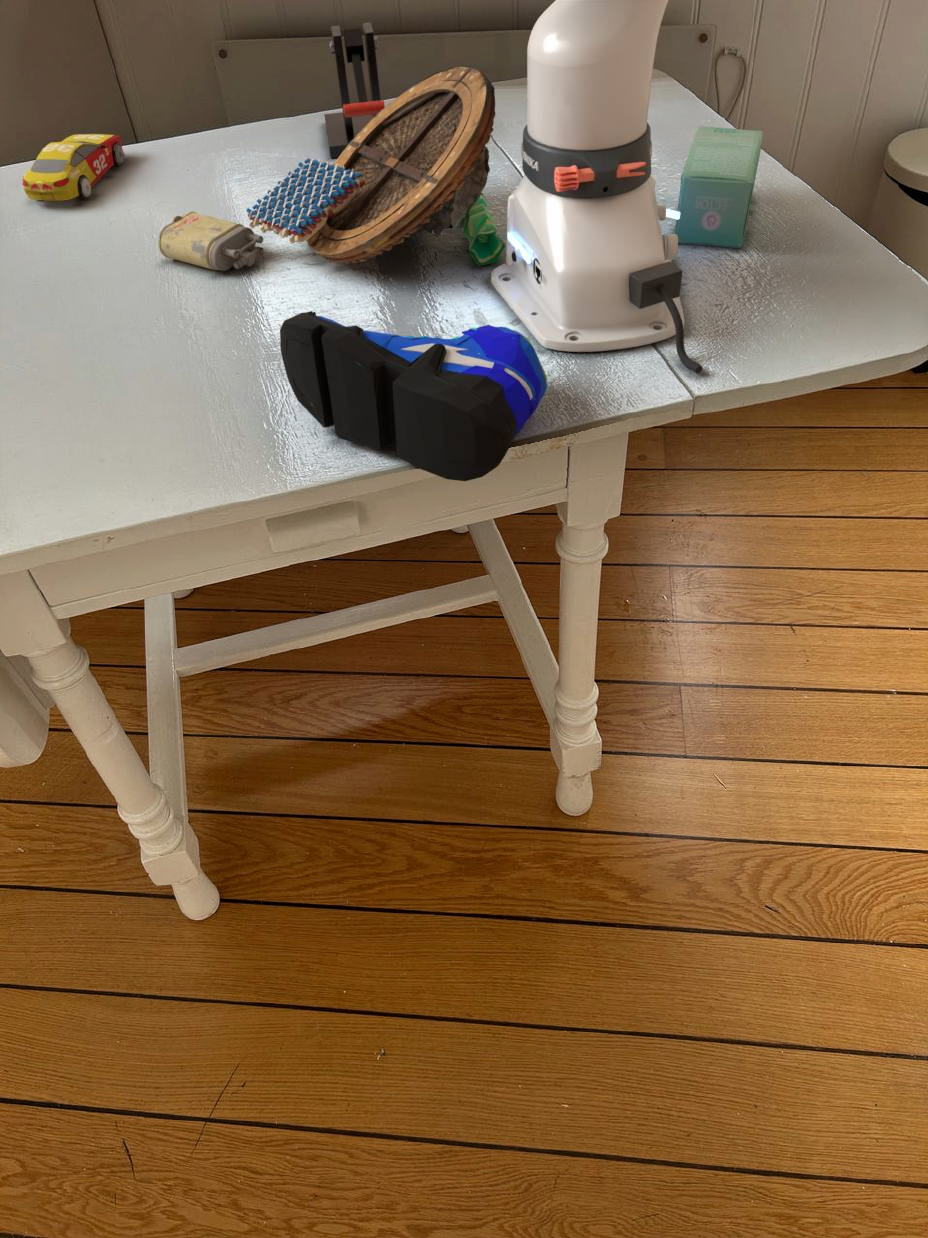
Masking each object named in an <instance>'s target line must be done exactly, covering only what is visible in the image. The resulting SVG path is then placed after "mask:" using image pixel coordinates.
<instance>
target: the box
mask: <svg viewBox="0 0 928 1238" xmlns="http://www.w3.org/2000/svg"><path fill="white" fill-rule="evenodd" d="M763 139H764V135H763V130H755V129H742V128H741V129H739V128H727V127H714V126H698V127H697V128H696V130H695V132H694V136H693V139H692V142H691V146H690V149H689V151H688V154H687V158H686V161H685V164H684V166H683V167H684V168H683V170H682V173H681V174H680V175H681V176H680V189H679V196H678V202H677V203H678V204H677V210H676V211H677V212H680V218H679V219H675V227H674V234H675V235H677V236H678V244H682V245H693V246H708V247H717V248H719V247H721V248H730V249H742V246H743V244H744V240H745V235H746V230H747V225H748V220H749V215H750V209H751V204H752V200H753V195H754V194H753V193H754V188H755V183H756V177H757V172H758V166H759V161H760V155H761V151H762V145H763Z"/></svg>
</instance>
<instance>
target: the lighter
mask: <svg viewBox="0 0 928 1238" xmlns="http://www.w3.org/2000/svg"><path fill="white" fill-rule="evenodd" d="M157 238H158V239H157V241H158V242H157V245H158V250H159V252H160V254H161V255H162V256H164V257H165V258H166V259H173V260H177V261H180V262H184V263H187V264H190V265H191V264H192V265H194V266H198V267H202V268H206V269H208V270H212V271H222V272H225V271H228V270H230V269H231V268H233V267H234V269H236V270H238V269H239V270H240V269H241V268H242V267H244V266H247V267H251V266H253V265H254V264H255V262H256V258H257V257H259V256H264V253H265V249H264V247H261V246H256V244H263V242H264V237H263V235H259V234H256V233H255V232H254V231H253V229H252V228H251V227H247V226H244V225H243V224H241V223H236V222H233V221H229V220H224V219H220V218H216V217H213V216H209V215H205V214H201V213H198V212H195V211H189V212H186V214H184V215H182V216H180V215H176V216H175V217H173V219H172V221H171V222H169V223H168V224H167V225H165V226H163V227H162V228H161V230H160V232H159V234H158V237H157Z"/></svg>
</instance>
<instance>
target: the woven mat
mask: <svg viewBox="0 0 928 1238" xmlns="http://www.w3.org/2000/svg"><path fill="white" fill-rule="evenodd" d="M303 162H304V163H302V162H301V161H300V162H298V164H297V165H298V167H296V168H295V169H294V170H293V172H291V171H289V172H288V173H287V175H288V176H286V177H285V178H284V179H283V181H281V180H279V181H277V185H275V187H274V188H273V190H271V189H268V190H267V194H266V195H265V196H263V198H262V199H260V198H257V200H256V204H254V205H253V206H252V209H253V210H252V209H251V208H249V207H248V208H246V213H248V214H247V217H248V218H247V219H248V220H249V221H251V222H250V223H249V225H248V226H249V228H250V229H251V230H253V229H254V228H256V227H259V226H260V228H259V230H260V232H261V233H263V234H265V233H266V232H273V233H274V234H276V235H277V236H280V237H281V238H282V239H284V238H288V237H290V238H288V239H289V240H288V241H289V242H290V243H291V244H295V243H304V242H307V240H308V239H309V238H310V237H312V236H313V235H314V234H315V233H316V232H317V231H318V230H319V229H320V228H322V227H323V226H324V224H325V222H326V220H327V217H328V216H331V215H332V213H336V212H338V211H340V210H341V209H342V208H343V207H344V206H345V205H346V204H347V203H348V202H349V201H350V200H351V199H352V198H353V197H354V196H355V195H356V194H357V193H358V192H359V190H360V187H363V186H364V185H365V182H366V179H365V178H363V177H361V174H360V173H358V172H354V170H355V169H352V171H351V170H344V169H345V166H343V168H342V167H338V165H336V166H335V167H334V166H333V164H334V163H330V161H326V162H324V161H323V162H321V159H315V158H313V157H312V158H309V157H308V158H307V159H305V160H304V161H303ZM356 177H358V178H357V179H356ZM346 193H348V194H346ZM341 197H342V199H341ZM314 222H316V223H315V224H314ZM309 227H311V228H309Z"/></svg>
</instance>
